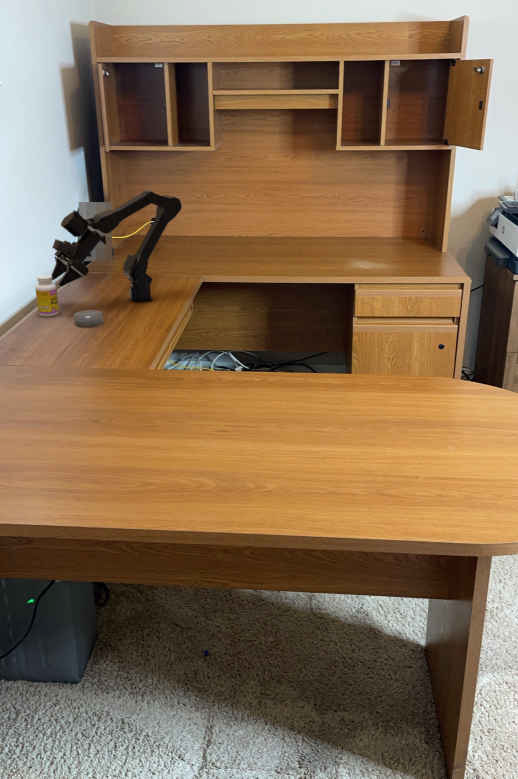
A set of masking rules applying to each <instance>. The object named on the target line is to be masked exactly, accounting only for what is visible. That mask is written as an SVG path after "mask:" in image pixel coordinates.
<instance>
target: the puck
mask: <svg viewBox="0 0 518 779" xmlns="http://www.w3.org/2000/svg"><path fill="white" fill-rule="evenodd" d="M73 323H74V326H75V325H77V326H79V327H78V328H83V327H89V328H95V327H94V326H96V327H99V326H101V325H103V324H102V323H104V316H103V312H102V311H100V310H96V309H95V310H94V309H87V310H86V309H85V310H84V309H83V310H81V311H80V310H79V311H77V312H75V313H74V314H73ZM100 324H101V325H100ZM98 325H99V326H98ZM77 326H76V327H77Z"/></svg>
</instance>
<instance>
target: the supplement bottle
mask: <svg viewBox="0 0 518 779" xmlns="http://www.w3.org/2000/svg"><path fill="white" fill-rule="evenodd" d="M51 275H52V274H42V275H38V276H37V278H36V280H37V282H38V283H37V284H36V285H35V296H36V297H35V298H36V303H37V304H36V306H37V312H38V315H39V316H40V317H45V318H47V317H48V318H49V317H54V316H57V315H58V314H59V313H60V311H59V310H60V309H59V300H58V291H57V285H56V283H54V282H53V280H52V276H51Z"/></svg>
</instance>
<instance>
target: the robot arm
mask: <svg viewBox="0 0 518 779" xmlns="http://www.w3.org/2000/svg"><path fill="white" fill-rule="evenodd" d="M151 204H153V205H155V206H156V210H155V212H156V213H155V217H154V220H153V221H152V223H151V225H150V227H149V229H148V230H147V232H146V234H145V236H144V238H143V239H142V241H141V243H140V246H139V247H138V249H137V251H135V253H134V254H133V255H131V254H128V255H127V256H126V259H125V261H124V262H123V263H122V265H123V268H122V270H123V274H124V276H126V277H127V279H128V281H130V286H129V287H128V288H129V298H130V300H131V301H132V302H134V303H142V302H151V301H153V297H152V296H151V294H152V293H151V285H152V282H153V278H152V277H151V276H150V275H149V274H147V271H148V268H149V267H148V266H149V259H150V257H151V255H152V254H153V252H154V250H155V247H157V244H158V242H159V240H160V239H161V237H162V235H163V233H164V231H165V229H166V227H167V226H168V225H169V223H170V222H171V221H173V220H174V219H175V218H176V217H177V215H178V214H179V213H180V212H181V210H182V207H183V206H182V202H181V200H180V199H179V198H178V197H176V196H172V195H168V194H166V195H161V194H157V193H155V192H154V191H151V190H148V189H147V190H143V192H141V193H140V194H138V195H136V196H134V197H133V198H131V199H129V200H128V201H126V202H124V203H122V204H121V205H119V206H116V208H113V209H110V210H105V211H102V212H99V213H97V214H95V215H93V217H91V218H86V219H85V218H84V217H83V216H82V215H81V214H80V213H79V211H77V210H75V209H74V210H73V211H72V212H70V213H69V214H67V215H66V216H64V218H63V219H62V221H61V223H60V226H61V227H62V228H63V229H64V230H66V231H67V232H68V233H69V234H70V235H71V236H73V237H74V238H76V237H78V238H79V239H78V240H77V241H76V242H75V241H72V242H70V241H68V240H63V241H62V240H59V239H54V242H53V245H52V249H54V250H55V251H56V252H55V253H54V260H55V265H54V268H53V270H52V272H51V274H50V275H51V276H52V281H55V280H56V279H57V278H59V277H61V276H62V275H63V276H62V278H61V279H60V280H59V283H58V286H60V287H63V286H66V285H68V284H70V283H72V282H74V281H76V280H79V279H80V278H83V277H86V276H88V275H89V272H90V271H89V269H90V268H89V267H87V266H86V265H85V264H84V262H85V261H86V260H87V259H88V257H89V258H91V257H92V252H93V251H94V250H95V249H96V247H97V246H98V244H100V243H101V244H103V245H107V240H106V239H107V236H106V235H104V234H109V233H111V232H113V231H114V230H115V229H116V228H117V227H119V225H120V223H121V222H122V221H123V220H125V219H127V218H129V217H130V216H132V215H134V214H136V213H137V212H140V211H141V210H142V209H144V208H146V207H148V206H150V205H151ZM90 228H91V229H92V230H91V229H90ZM99 232H100V233H102V235H101V234H100V233H99Z"/></svg>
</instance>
